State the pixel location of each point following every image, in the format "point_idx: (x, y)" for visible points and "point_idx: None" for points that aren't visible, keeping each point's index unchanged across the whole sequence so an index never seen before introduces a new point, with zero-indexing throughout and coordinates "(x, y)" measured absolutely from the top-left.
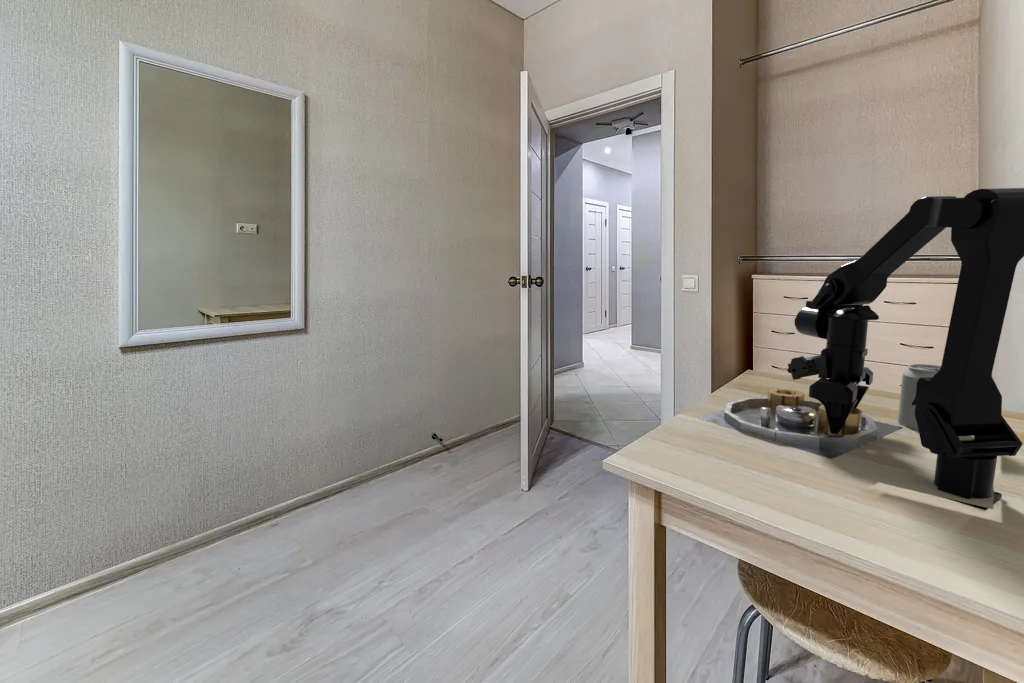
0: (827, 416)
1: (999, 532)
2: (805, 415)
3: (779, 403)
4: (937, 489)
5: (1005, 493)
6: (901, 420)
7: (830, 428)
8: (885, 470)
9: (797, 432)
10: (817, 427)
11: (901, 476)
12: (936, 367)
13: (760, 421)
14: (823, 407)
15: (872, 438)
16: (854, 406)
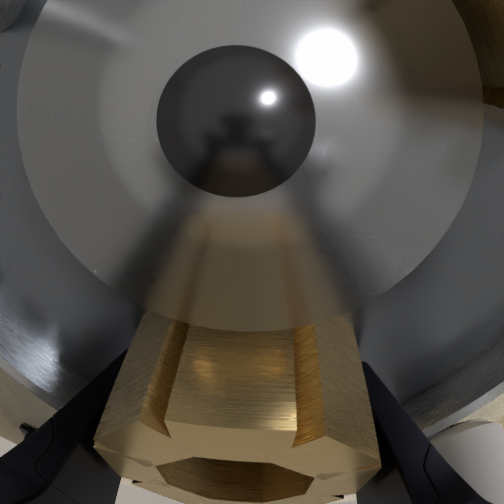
0: (56, 415)
1: (12, 439)
2: (92, 264)
3: None
4: (24, 439)
5: (124, 481)
6: (449, 451)
7: (111, 366)
8: (46, 406)
9: (26, 197)
10: None
11: (47, 418)
12: None
13: None
14: (183, 440)
15: None
16: (357, 497)
